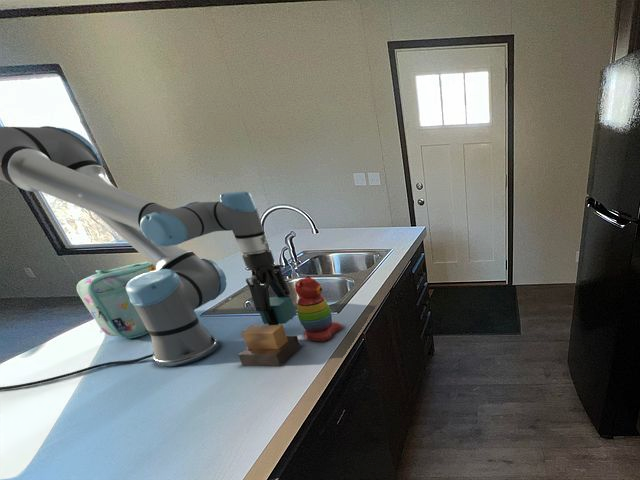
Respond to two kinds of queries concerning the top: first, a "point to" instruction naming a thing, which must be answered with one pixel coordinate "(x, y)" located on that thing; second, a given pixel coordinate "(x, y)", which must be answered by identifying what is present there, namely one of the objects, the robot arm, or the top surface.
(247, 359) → the walnut base
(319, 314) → the stacking bear
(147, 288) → the robot arm
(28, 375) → the top surface
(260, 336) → the oak brick
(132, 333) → the lunch box
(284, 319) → the teal cube
